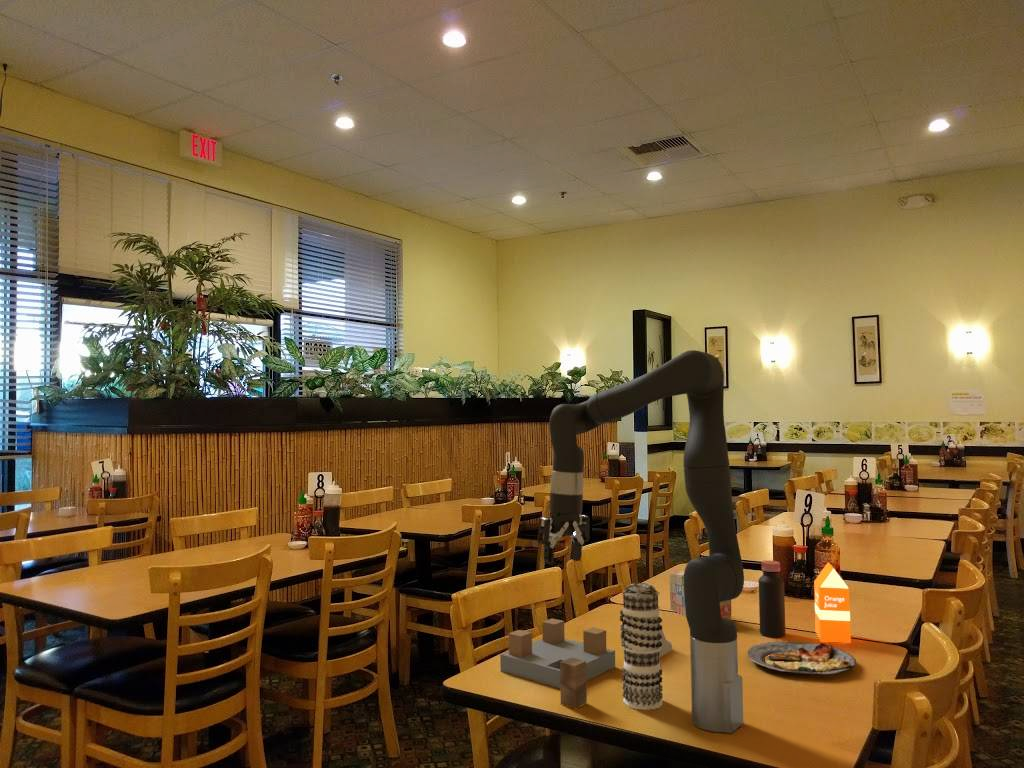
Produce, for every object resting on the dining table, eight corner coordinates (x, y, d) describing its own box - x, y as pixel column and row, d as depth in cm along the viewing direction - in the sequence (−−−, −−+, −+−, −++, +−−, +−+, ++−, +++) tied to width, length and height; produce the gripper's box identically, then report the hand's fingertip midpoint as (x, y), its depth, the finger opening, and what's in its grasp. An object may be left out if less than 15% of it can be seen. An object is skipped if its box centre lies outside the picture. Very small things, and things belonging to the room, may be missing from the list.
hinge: (644, 666, 184) (631, 625, 186) (628, 669, 187) (615, 629, 189) (673, 649, 197) (661, 611, 200) (658, 652, 200) (646, 614, 202)
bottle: (782, 631, 212) (780, 559, 213) (788, 638, 205) (786, 564, 206) (757, 630, 212) (755, 559, 213) (763, 637, 206) (761, 564, 206)
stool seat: (615, 666, 184) (614, 630, 184) (565, 690, 169) (565, 650, 169) (551, 650, 197) (551, 616, 198) (500, 670, 182) (500, 633, 183)
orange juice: (820, 642, 201) (818, 567, 202) (815, 632, 210) (813, 560, 211) (851, 643, 200) (849, 568, 200) (845, 634, 208) (842, 561, 209)
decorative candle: (612, 702, 162) (610, 586, 162) (637, 691, 168) (635, 578, 169) (647, 714, 155) (645, 592, 156) (672, 701, 161) (670, 585, 162)
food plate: (848, 652, 192) (847, 638, 193) (865, 685, 170) (864, 669, 170) (746, 647, 199) (746, 634, 199) (750, 679, 177) (749, 664, 177)
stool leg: (586, 703, 161) (586, 661, 162) (575, 708, 158) (574, 665, 159) (571, 698, 164) (571, 657, 164) (560, 704, 161) (560, 661, 161)
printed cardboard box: (732, 625, 218) (731, 583, 219) (715, 628, 216) (714, 585, 216) (685, 608, 238) (685, 569, 238) (669, 611, 235) (669, 571, 235)
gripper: (555, 494, 164) (551, 568, 163) (600, 492, 173) (596, 562, 173) (532, 490, 170) (528, 561, 169) (577, 488, 179) (573, 556, 178)
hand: (562, 562), depth 171 cm, fingers open, 8 cm apart
